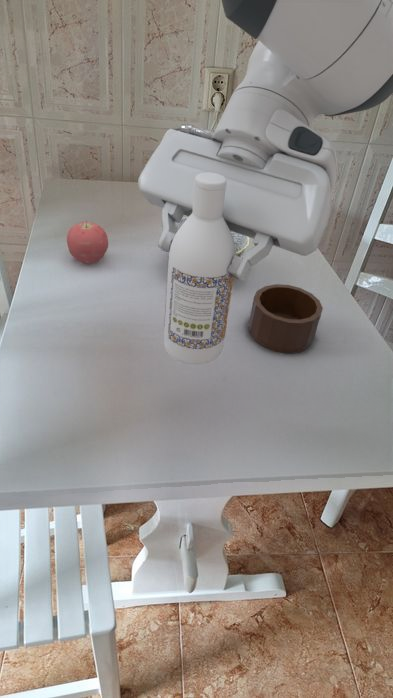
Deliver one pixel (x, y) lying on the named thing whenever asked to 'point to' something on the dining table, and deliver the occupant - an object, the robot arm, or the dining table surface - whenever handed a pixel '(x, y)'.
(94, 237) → the apple
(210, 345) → the bath foam
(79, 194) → the dining table surface
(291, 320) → the cup
